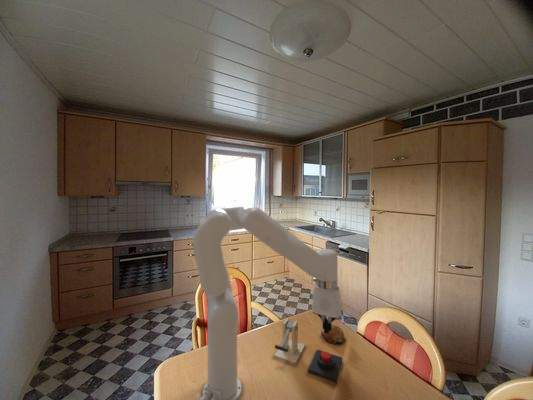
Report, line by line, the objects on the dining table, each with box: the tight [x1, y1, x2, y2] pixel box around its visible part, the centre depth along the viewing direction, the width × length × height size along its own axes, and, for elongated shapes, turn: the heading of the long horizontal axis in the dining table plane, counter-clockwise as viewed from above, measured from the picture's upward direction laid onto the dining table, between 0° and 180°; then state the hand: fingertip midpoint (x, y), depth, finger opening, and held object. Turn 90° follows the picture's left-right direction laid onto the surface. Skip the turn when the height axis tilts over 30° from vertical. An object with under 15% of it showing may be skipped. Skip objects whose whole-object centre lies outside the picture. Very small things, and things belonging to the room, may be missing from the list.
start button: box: [321, 351, 331, 363], centre depth 86 cm, size 4×4×2 cm
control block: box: [307, 349, 343, 386], centre depth 86 cm, size 12×10×4 cm
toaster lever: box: [274, 320, 295, 352], centre depth 90 cm, size 12×5×2 cm, turn 153°
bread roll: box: [320, 323, 345, 346], centre depth 103 cm, size 10×10×8 cm
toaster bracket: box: [273, 317, 306, 364], centre depth 94 cm, size 12×9×13 cm
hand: (327, 331), depth 86 cm, fingers closed
